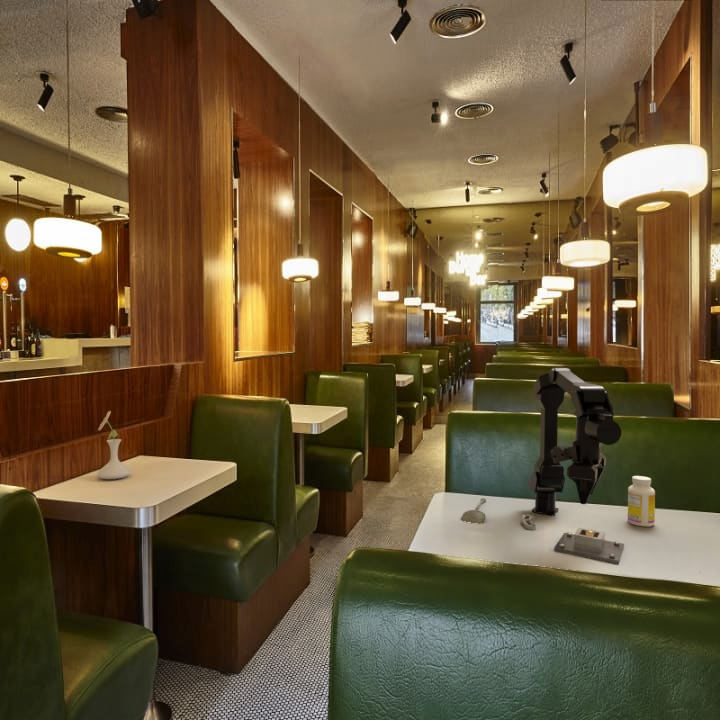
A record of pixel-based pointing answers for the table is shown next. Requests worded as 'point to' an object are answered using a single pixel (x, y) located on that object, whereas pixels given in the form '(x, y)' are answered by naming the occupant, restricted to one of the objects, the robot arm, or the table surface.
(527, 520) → the chain tail
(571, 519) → the table surface
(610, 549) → the keeper plate
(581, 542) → the end link
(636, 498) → the supplement bottle
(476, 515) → the soupspoon
